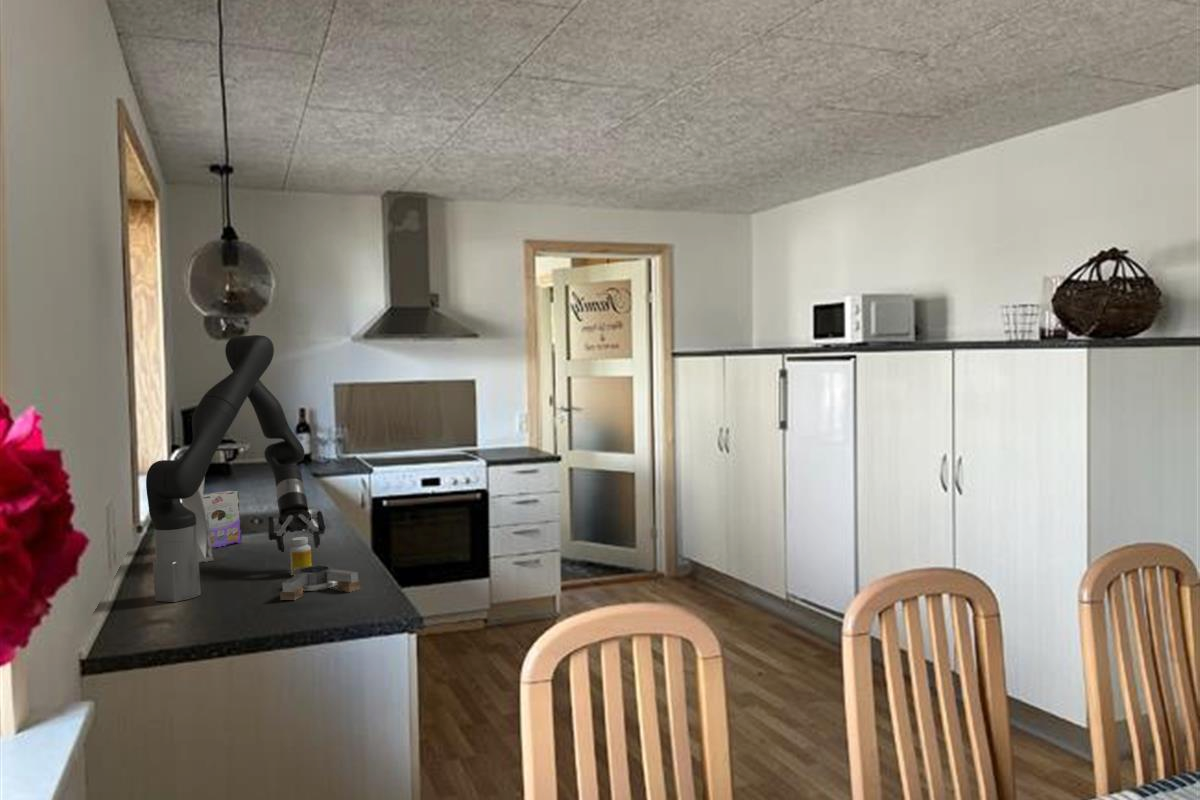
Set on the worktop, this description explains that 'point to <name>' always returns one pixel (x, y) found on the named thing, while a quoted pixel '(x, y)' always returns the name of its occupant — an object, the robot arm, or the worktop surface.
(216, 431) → the robot arm
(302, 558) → the supplement bottle
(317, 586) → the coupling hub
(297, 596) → the blocks
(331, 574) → the angled shafts
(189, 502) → the skyscraper
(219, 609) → the worktop surface
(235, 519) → the candy box
